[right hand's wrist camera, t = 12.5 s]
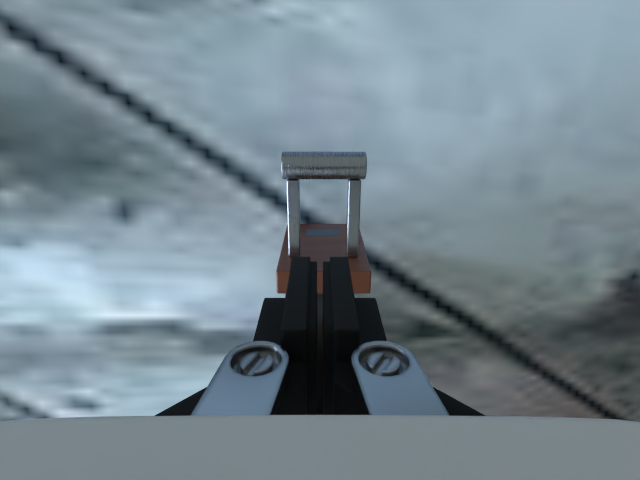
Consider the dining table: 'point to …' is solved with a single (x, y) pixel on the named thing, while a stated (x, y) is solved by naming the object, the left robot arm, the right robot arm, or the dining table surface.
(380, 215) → the dining table surface
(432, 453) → the right robot arm
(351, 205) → the drawer
